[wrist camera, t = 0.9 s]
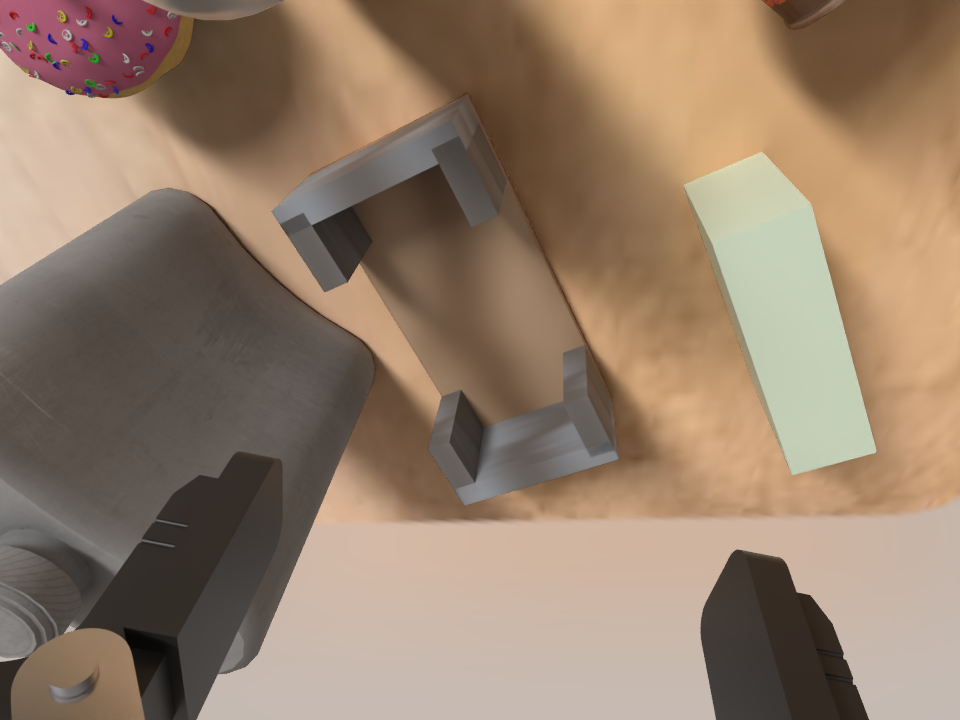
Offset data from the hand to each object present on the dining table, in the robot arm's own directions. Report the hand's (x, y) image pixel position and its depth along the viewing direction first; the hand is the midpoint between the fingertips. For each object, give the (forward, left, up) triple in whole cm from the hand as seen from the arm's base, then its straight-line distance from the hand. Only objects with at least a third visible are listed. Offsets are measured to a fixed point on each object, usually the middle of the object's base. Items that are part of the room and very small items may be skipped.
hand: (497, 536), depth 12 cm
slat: (-7, +9, -23) cm, 26 cm away
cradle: (+6, +4, -23) cm, 24 cm away
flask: (+17, 0, -23) cm, 28 cm away
